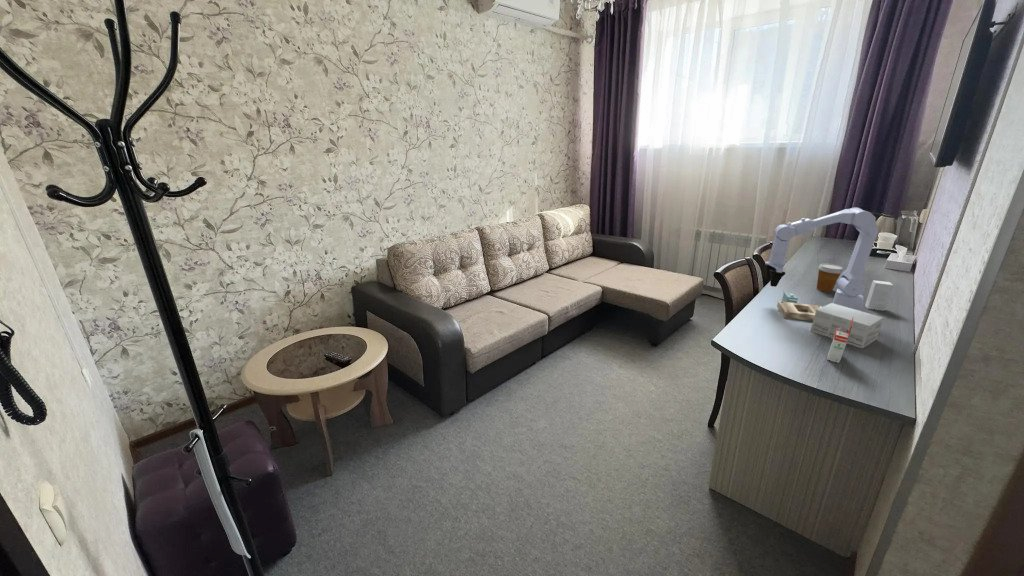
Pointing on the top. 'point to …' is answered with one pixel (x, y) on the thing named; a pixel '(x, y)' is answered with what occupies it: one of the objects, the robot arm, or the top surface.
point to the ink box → (839, 343)
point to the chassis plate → (797, 310)
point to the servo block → (789, 297)
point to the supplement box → (847, 324)
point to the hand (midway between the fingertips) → (771, 283)
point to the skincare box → (879, 295)
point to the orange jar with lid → (828, 276)
